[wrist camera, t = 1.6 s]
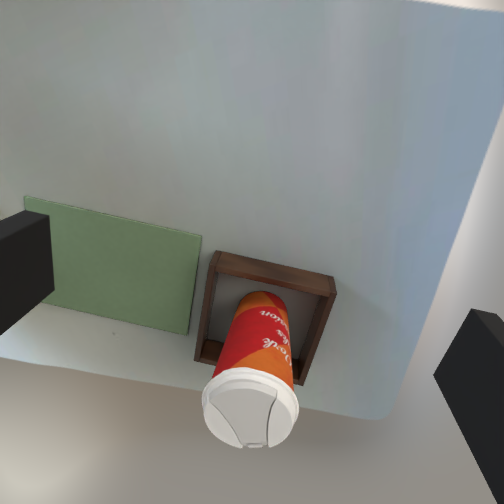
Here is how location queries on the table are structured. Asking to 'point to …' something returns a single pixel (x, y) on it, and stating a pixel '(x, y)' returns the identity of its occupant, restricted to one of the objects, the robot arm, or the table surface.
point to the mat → (120, 267)
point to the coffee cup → (253, 377)
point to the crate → (277, 276)
